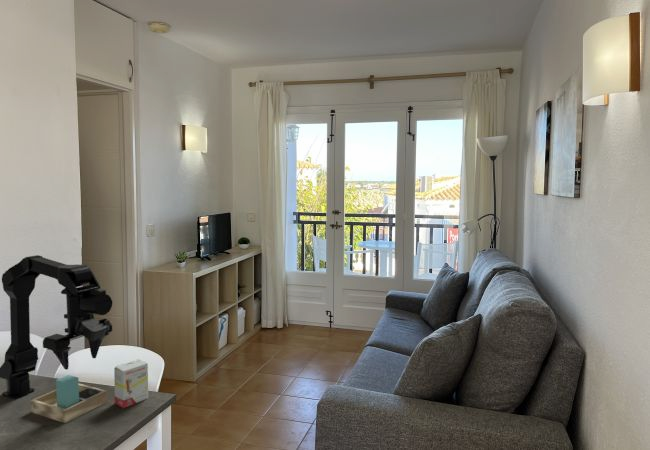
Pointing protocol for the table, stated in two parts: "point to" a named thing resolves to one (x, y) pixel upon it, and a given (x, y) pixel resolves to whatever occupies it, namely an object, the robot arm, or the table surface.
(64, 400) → the plug
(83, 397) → the walled box
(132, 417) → the table surface
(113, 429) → the table surface
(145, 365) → the ink box
